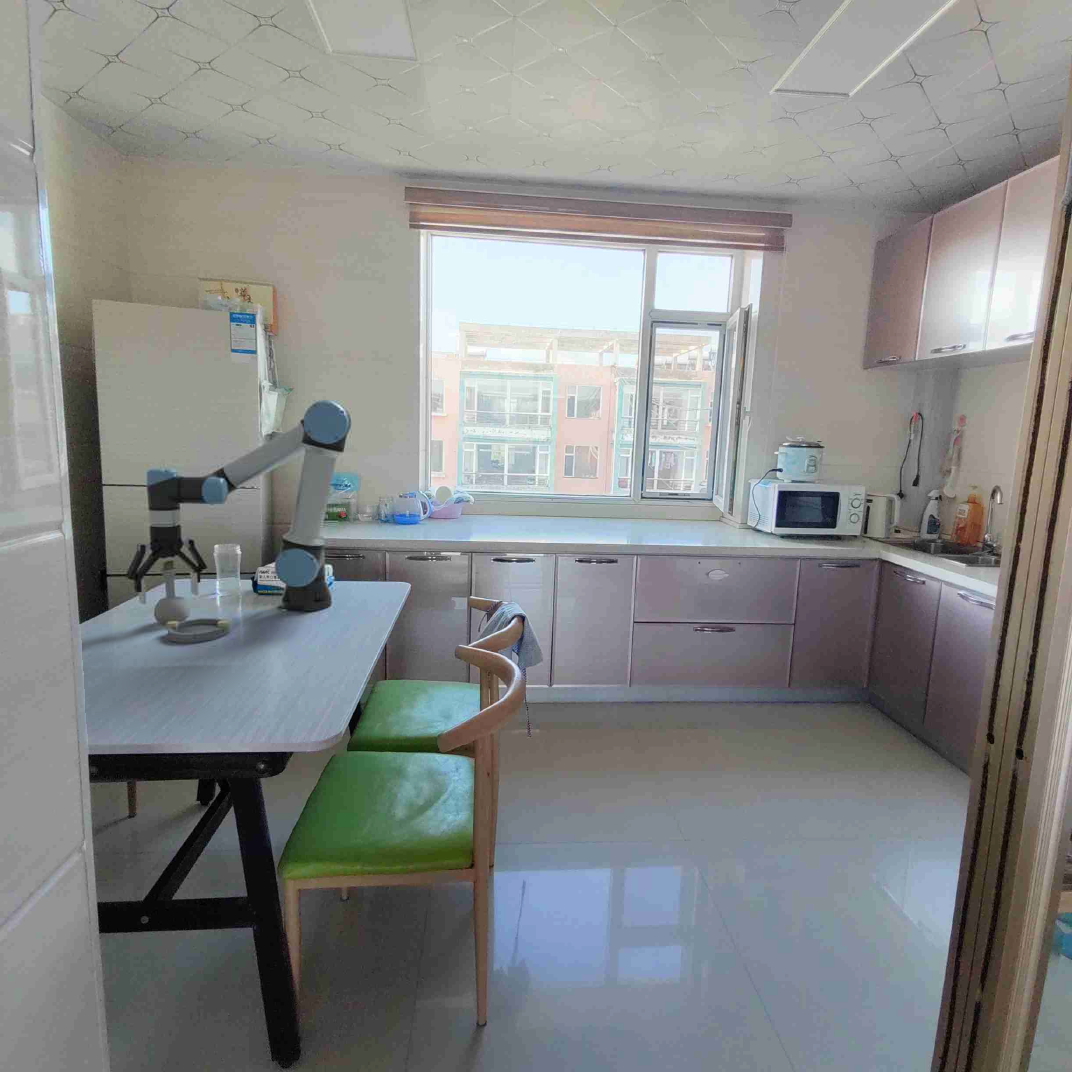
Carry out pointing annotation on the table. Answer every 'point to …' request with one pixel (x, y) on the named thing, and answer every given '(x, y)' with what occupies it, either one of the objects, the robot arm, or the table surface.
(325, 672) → the table surface
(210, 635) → the grey flat ring
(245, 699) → the table surface
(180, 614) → the potion bottle
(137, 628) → the table surface
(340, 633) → the table surface
